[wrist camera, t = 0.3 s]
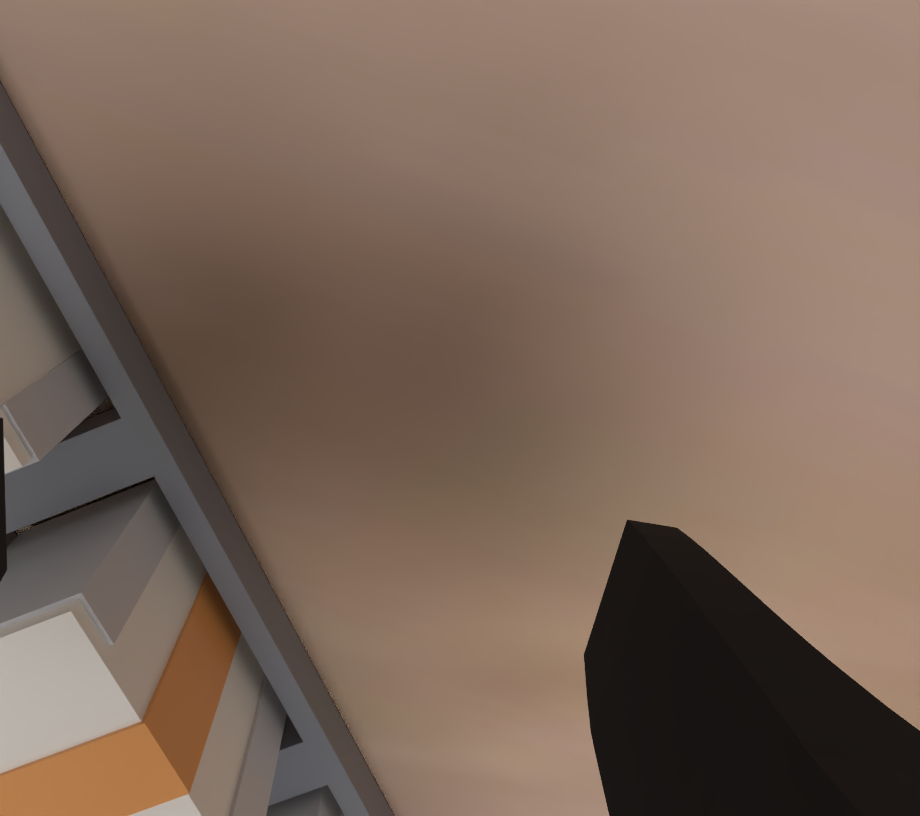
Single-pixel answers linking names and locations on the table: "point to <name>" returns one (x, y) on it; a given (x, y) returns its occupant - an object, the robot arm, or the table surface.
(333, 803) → the block
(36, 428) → the block
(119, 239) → the table surface
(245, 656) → the white and orange block
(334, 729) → the fuse holder
